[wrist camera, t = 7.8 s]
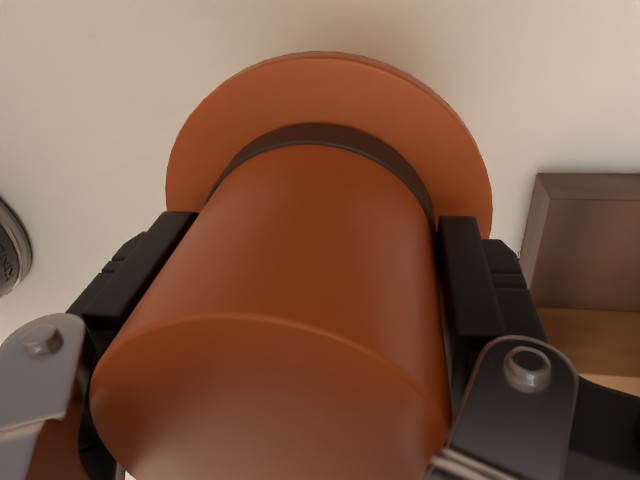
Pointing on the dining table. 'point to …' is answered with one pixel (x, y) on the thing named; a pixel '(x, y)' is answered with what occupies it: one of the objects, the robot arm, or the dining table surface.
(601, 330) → the stand
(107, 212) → the dining table surface
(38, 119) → the dining table surface
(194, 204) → the hat
